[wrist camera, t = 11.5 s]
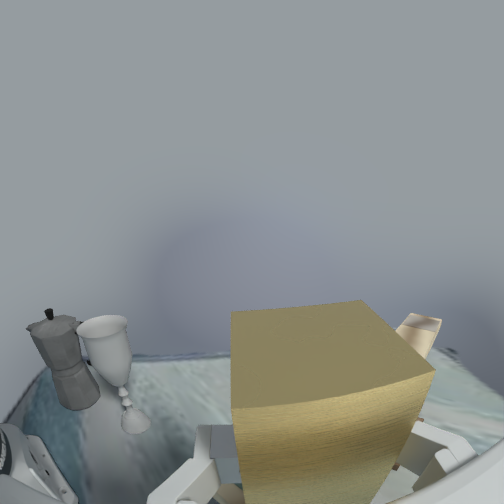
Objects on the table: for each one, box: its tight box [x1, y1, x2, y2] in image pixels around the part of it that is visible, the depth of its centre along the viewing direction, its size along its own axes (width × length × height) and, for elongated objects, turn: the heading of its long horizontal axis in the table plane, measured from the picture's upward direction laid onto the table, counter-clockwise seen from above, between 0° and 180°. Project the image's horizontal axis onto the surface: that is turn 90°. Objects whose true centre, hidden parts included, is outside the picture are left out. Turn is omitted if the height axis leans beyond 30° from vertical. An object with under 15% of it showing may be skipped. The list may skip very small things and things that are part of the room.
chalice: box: [76, 315, 151, 434], centre depth 33 cm, size 7×7×18 cm
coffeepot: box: [26, 309, 100, 410], centre depth 38 cm, size 15×9×18 cm, turn 100°
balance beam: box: [213, 313, 442, 504], centre depth 29 cm, size 7×49×2 cm, turn 134°
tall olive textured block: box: [231, 300, 436, 504], centre depth 8 cm, size 4×4×10 cm
